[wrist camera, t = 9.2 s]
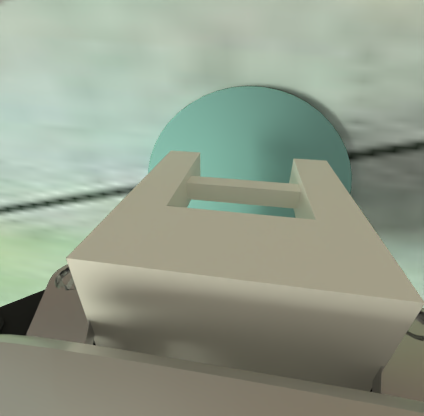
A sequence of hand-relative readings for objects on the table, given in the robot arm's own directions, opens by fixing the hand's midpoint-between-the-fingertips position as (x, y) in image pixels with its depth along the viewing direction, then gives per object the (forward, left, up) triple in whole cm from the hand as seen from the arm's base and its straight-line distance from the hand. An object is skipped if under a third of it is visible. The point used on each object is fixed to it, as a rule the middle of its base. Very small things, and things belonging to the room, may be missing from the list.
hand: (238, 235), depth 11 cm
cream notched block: (0, 0, -1) cm, 1 cm away
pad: (0, 0, -5) cm, 5 cm away
